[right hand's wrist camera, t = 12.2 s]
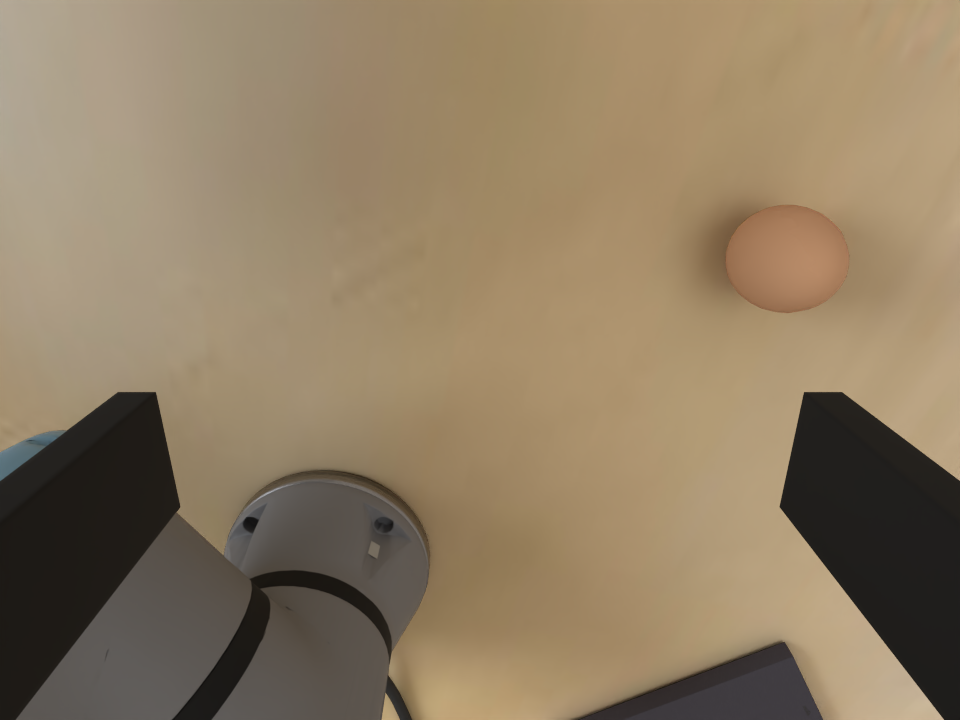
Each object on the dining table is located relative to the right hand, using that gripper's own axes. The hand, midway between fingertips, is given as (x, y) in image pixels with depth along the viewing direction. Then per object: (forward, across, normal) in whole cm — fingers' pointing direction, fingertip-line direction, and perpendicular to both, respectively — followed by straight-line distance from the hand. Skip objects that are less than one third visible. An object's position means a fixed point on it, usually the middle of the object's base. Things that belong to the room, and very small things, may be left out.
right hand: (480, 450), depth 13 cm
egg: (+28, -18, +1) cm, 33 cm away
